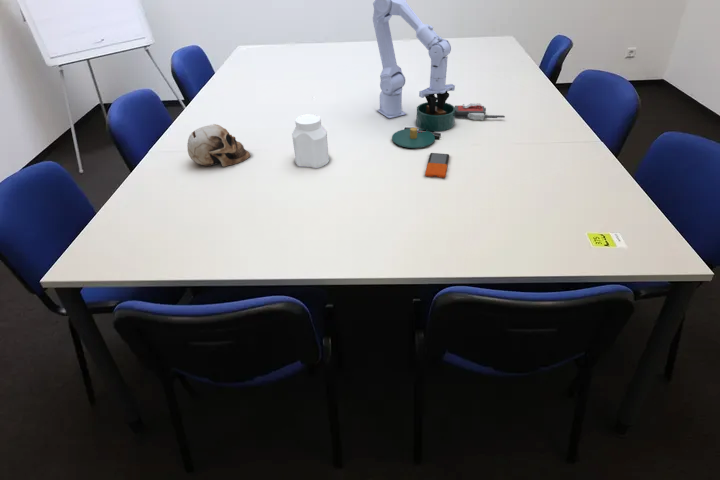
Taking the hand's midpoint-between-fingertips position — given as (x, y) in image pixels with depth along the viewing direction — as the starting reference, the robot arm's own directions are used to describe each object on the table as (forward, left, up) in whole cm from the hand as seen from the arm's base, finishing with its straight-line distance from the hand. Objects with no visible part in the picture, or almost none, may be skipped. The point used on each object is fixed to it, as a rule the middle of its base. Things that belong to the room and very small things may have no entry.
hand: (435, 112), depth 179 cm
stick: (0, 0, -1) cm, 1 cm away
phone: (+29, -19, -5) cm, 35 cm away
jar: (+4, -53, -5) cm, 53 cm away
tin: (0, 0, -5) cm, 5 cm away
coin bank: (-13, -80, -5) cm, 81 cm away
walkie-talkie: (+3, +18, -5) cm, 19 cm away
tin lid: (+8, -15, -4) cm, 17 cm away
